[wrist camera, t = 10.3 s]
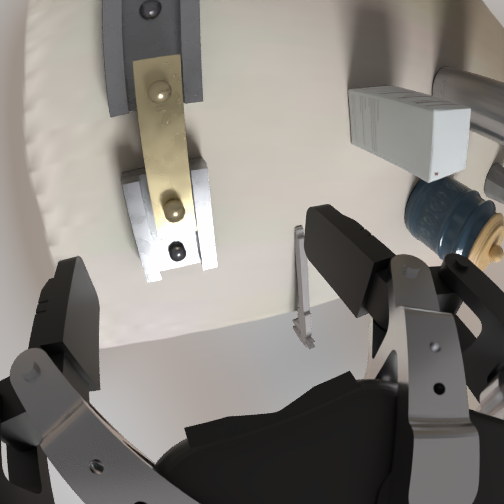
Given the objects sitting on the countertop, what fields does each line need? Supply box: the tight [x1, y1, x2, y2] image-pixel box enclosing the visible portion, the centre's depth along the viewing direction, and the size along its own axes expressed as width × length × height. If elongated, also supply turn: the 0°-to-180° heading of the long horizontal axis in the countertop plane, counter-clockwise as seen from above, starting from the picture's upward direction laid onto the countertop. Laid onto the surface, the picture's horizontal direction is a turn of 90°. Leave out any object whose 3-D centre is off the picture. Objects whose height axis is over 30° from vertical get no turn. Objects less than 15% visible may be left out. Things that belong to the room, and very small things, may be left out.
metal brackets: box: [102, 0, 217, 283], centre depth 23 cm, size 8×28×4 cm, turn 1°
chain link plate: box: [133, 54, 197, 239], centre depth 21 cm, size 3×14×6 cm, turn 1°
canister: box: [405, 175, 504, 271], centre depth 38 cm, size 13×13×18 cm
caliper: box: [293, 226, 315, 349], centre depth 41 cm, size 20×1×6 cm, turn 5°
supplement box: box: [348, 86, 471, 183], centre depth 26 cm, size 7×7×13 cm
